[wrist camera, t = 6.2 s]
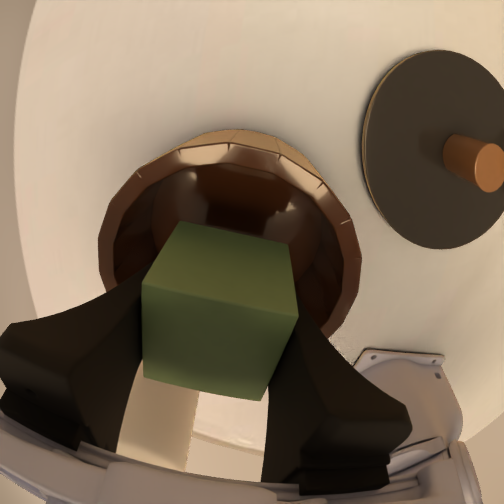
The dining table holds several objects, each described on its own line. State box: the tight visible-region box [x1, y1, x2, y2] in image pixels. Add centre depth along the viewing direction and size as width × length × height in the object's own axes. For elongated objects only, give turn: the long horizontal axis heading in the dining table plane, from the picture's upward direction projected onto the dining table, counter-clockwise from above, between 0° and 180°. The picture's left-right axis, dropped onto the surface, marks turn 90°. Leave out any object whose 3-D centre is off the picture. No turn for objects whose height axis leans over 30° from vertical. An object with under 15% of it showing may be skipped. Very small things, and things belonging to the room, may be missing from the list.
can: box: [116, 360, 200, 472], centre depth 18 cm, size 6×6×12 cm
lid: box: [362, 50, 504, 249], centre depth 13 cm, size 13×13×4 cm
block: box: [141, 221, 299, 401], centre depth 11 cm, size 4×4×4 cm
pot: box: [98, 129, 362, 339], centre depth 15 cm, size 12×12×6 cm
